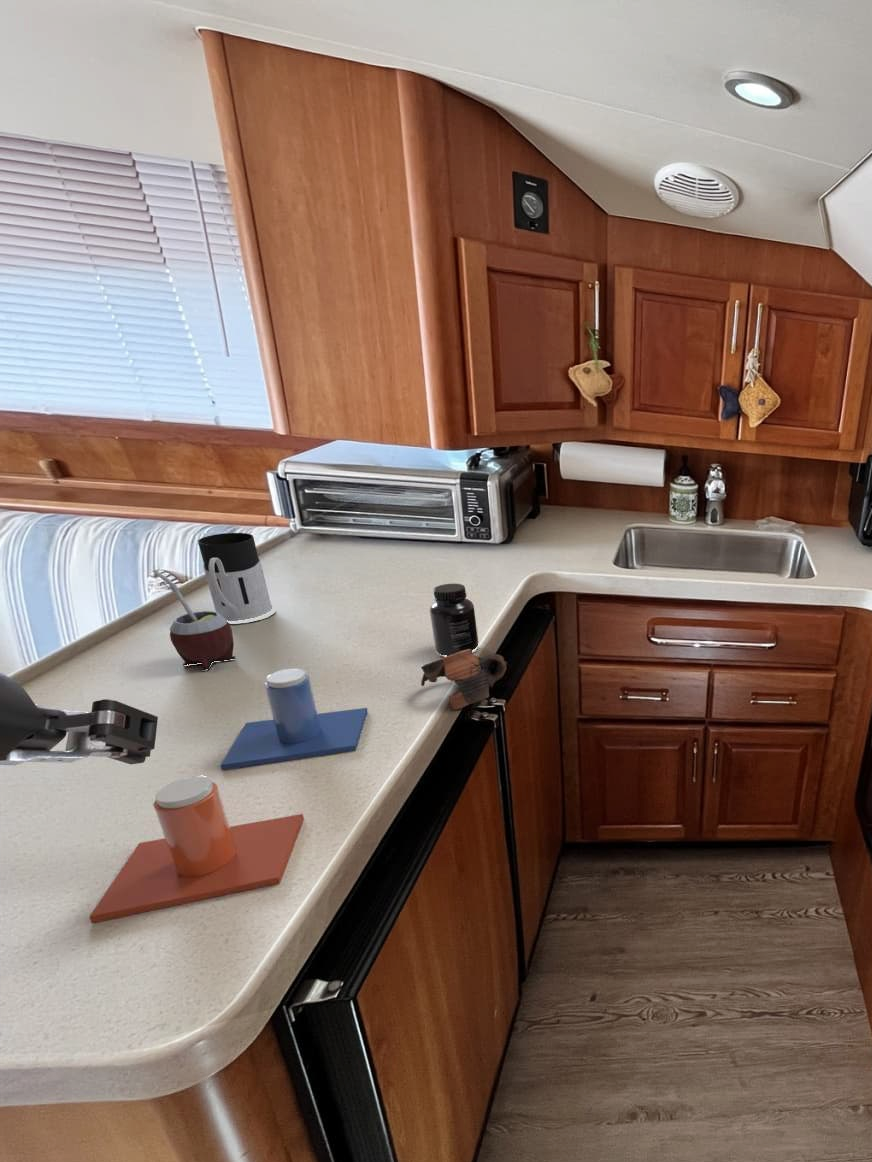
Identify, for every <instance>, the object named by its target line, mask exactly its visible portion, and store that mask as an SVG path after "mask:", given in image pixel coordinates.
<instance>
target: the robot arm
mask: <svg viewBox="0 0 872 1162" xmlns="http://www.w3.org/2000/svg"><path fill="white" fill-rule="evenodd" d="M158 720H159V716H157V715H154V714H151V713H149V712H147V711H144V710H141V709H139V708H137V707H133V706H131V705H128V704H126V703H124V702H123V703H122V702H121V701H117V700H114V699H109V698H108V699H105V698H104V699H100V700H95V701H93V702H92V705H91V712H90V711H83V710H82V711H81V710H68V709H57V708H47V707H44V706H42V705H40V704H37V703H35V702H34V700H33V699H32V697H30V695H29V694H28V692H27V690H26V689H24V687H23V686H22V685H21V684H20V683H18V682H17V681H16V680H14V679H13V678H11V677H9V676H8V675H5V674H4V673H1V672H0V766H19V765H21V764H24V763H57V764H59V763H62V764H63V763H64V764H71V763H74V762H77V761H80V760H83V759H87V758H88V757H96V758H97V757H99V758H101V757H102V758H108V759H112V760H115V761H118V762H121V763H124V764H128V765H136V764H137V765H138V764H144V763H145V761H146V759H147V758H149V757H151V751H152V750H155V747H156V739H157V729H158ZM66 736H67V738H66ZM65 738H66V743H65V744H66V745H65V750H53V749H54V748H55V747H56V746H57V745H58V744H59V743H60V742H62V741H63V740H64V739H65ZM98 742H99V743H100V742H101V743H104V745H95V744H93V743H98Z"/></svg>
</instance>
